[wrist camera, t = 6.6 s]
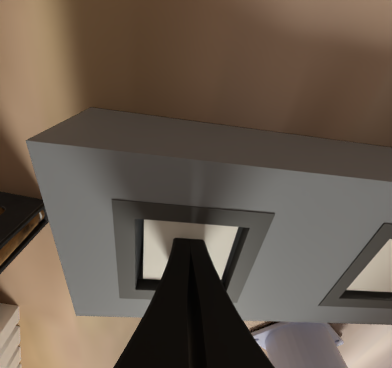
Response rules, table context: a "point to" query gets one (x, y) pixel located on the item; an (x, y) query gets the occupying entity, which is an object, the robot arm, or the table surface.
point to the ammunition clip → (18, 224)
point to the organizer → (9, 336)
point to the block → (217, 212)
